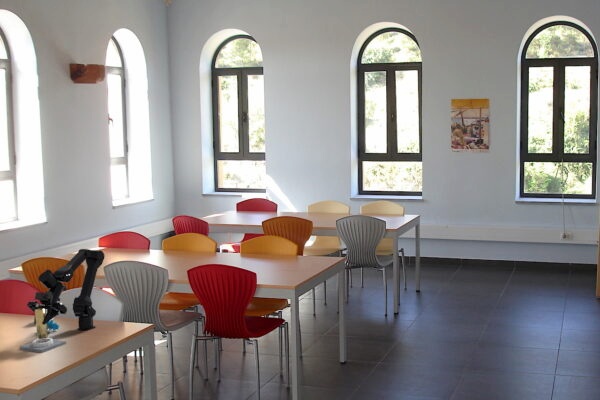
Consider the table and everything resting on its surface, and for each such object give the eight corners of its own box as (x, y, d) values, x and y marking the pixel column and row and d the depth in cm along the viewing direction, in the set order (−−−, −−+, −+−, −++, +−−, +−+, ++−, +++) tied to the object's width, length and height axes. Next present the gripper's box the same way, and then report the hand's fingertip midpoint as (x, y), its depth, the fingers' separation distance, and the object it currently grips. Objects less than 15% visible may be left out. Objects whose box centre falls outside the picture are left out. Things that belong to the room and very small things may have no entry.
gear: (64, 327, 373) (50, 316, 366) (59, 338, 369) (45, 327, 363) (47, 328, 378) (33, 318, 371) (42, 339, 374) (28, 329, 368)
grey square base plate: (44, 340, 356) (43, 335, 356) (66, 343, 350) (65, 337, 349) (19, 349, 344) (19, 343, 344) (42, 352, 337) (41, 346, 337)
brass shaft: (46, 335, 350) (43, 307, 348) (49, 337, 346) (46, 309, 345) (36, 337, 347) (33, 309, 346) (39, 339, 344) (36, 310, 342)
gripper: (27, 283, 351) (12, 313, 342) (60, 285, 344) (45, 315, 335) (41, 296, 359) (26, 326, 351) (73, 298, 352) (59, 328, 343)
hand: (39, 324), depth 345 cm, fingers closed on brass shaft, 4 cm apart
